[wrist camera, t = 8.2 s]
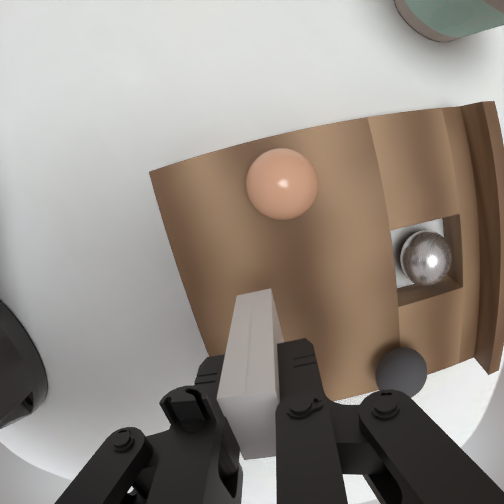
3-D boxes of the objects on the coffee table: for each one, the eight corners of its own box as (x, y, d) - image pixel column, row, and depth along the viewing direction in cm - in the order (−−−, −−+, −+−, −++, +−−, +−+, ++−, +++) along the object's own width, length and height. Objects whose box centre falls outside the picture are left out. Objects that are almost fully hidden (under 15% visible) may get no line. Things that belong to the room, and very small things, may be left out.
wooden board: (237, 396, 24) (230, 441, 19) (163, 170, 20) (130, 174, 15) (469, 337, 22) (498, 370, 17) (453, 109, 17) (494, 101, 12)
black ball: (371, 384, 20) (383, 417, 17) (368, 345, 19) (382, 377, 16) (416, 371, 20) (433, 401, 16) (416, 331, 19) (436, 360, 16)
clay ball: (257, 220, 18) (254, 234, 14) (241, 158, 17) (233, 157, 13) (320, 206, 17) (331, 216, 14) (305, 143, 16) (313, 138, 13)
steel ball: (392, 289, 20) (436, 299, 17) (386, 237, 19) (434, 243, 16) (419, 268, 21) (460, 276, 18) (415, 222, 20) (458, 225, 17)
